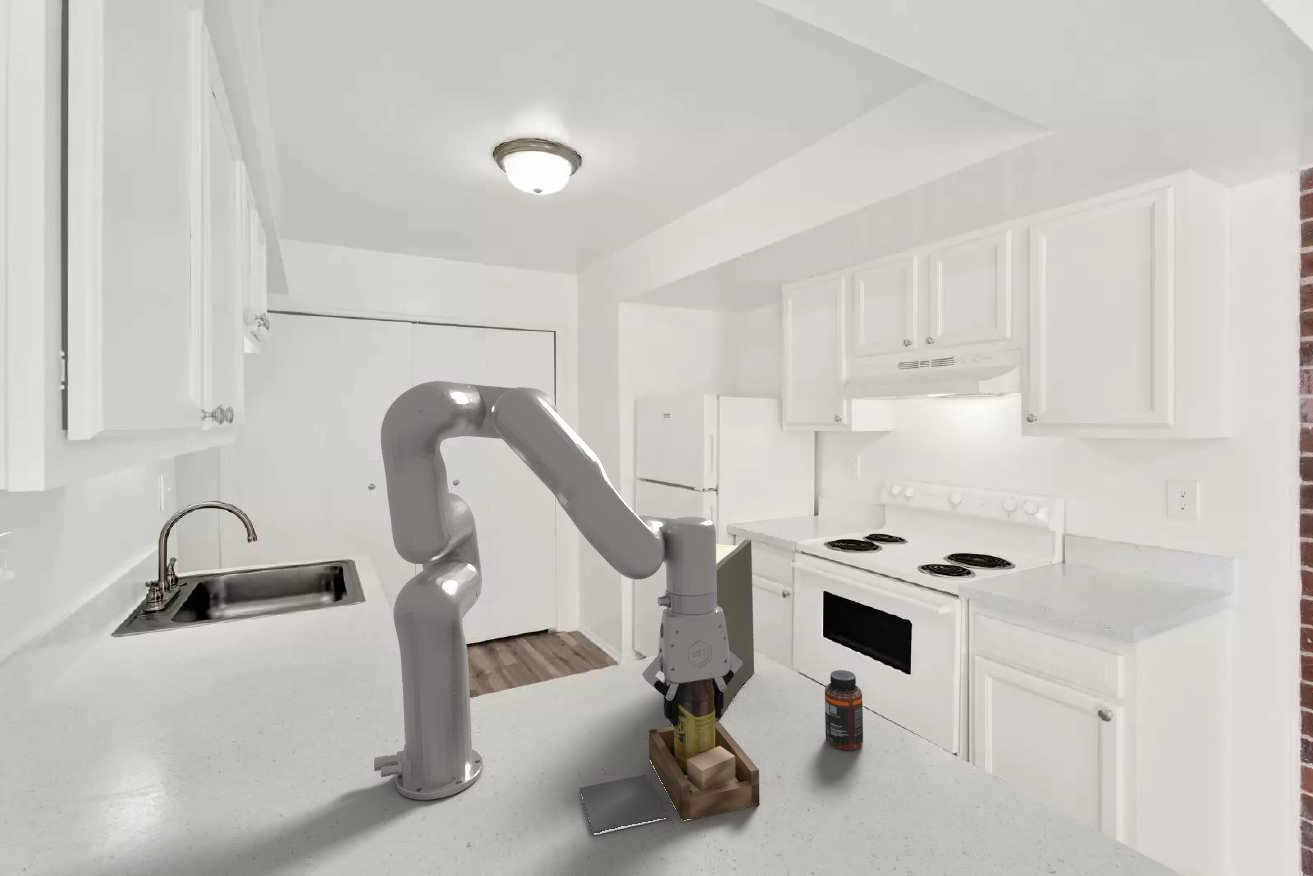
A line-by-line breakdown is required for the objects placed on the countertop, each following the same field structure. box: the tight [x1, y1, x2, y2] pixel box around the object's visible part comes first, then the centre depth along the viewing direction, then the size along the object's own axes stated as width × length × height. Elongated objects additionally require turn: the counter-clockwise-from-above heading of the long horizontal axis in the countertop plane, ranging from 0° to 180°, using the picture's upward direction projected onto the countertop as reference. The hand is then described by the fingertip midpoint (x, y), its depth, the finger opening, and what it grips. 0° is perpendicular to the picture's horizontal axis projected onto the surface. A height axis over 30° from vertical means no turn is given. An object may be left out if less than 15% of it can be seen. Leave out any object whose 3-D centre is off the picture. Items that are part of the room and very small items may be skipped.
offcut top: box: [687, 746, 736, 790], centre depth 90 cm, size 6×3×3 cm, turn 124°
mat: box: [579, 774, 668, 834], centre depth 89 cm, size 10×10×1 cm
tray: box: [648, 718, 760, 822], centre depth 94 cm, size 11×15×5 cm
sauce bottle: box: [674, 679, 715, 776], centre depth 96 cm, size 7×6×20 cm
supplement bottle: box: [824, 669, 864, 751], centre depth 104 cm, size 6×6×11 cm
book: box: [709, 539, 755, 720], centre depth 123 cm, size 22×9×28 cm, turn 155°
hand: (694, 716), depth 96 cm, fingers closed on sauce bottle, 6 cm apart
